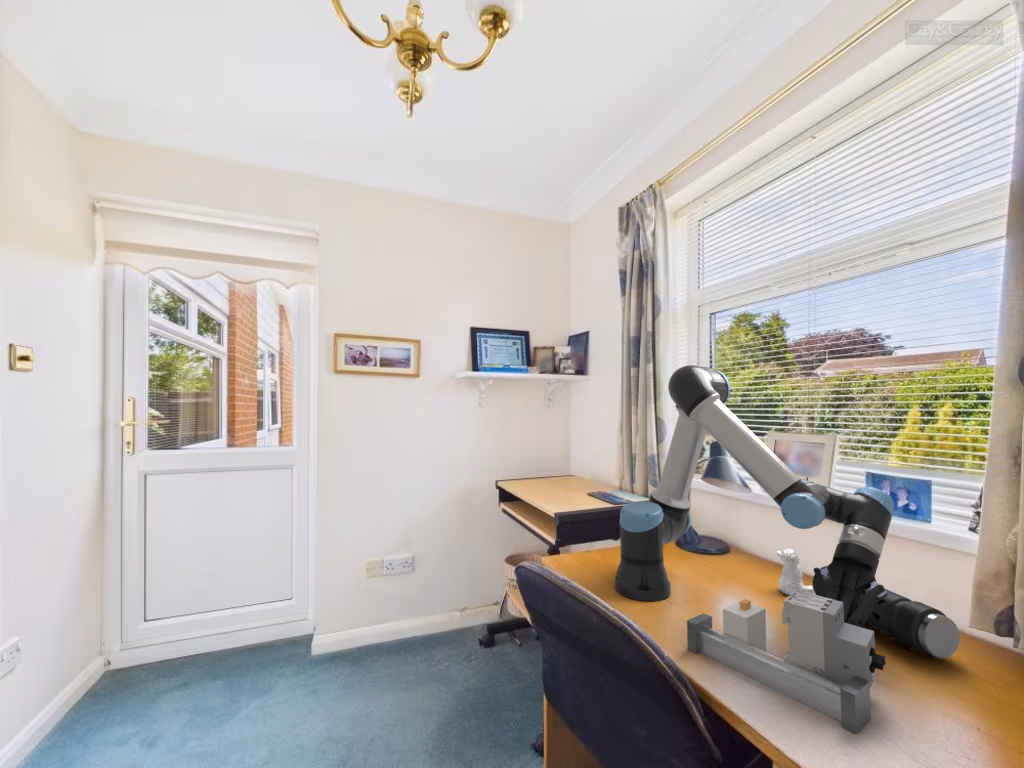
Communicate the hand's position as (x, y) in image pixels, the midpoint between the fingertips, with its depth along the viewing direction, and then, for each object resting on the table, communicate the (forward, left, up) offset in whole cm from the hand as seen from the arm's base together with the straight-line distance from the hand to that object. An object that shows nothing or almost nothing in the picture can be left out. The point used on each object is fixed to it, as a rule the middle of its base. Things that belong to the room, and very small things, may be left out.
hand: (826, 652), depth 89 cm
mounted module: (-12, -7, -3) cm, 15 cm away
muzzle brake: (0, +27, -3) cm, 27 cm away
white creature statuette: (-21, +34, -3) cm, 40 cm away
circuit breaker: (+4, -7, -3) cm, 8 cm away
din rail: (-5, -13, -3) cm, 14 cm away
